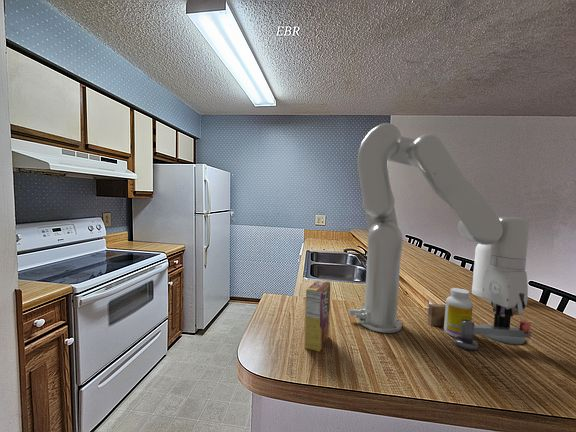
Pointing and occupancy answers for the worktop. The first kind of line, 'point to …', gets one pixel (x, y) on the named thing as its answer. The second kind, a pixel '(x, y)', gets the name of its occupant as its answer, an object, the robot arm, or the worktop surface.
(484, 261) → the bottle
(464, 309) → the supplement bottle
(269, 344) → the worktop surface
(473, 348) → the lever
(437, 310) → the wooden plank block
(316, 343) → the candy box
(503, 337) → the coaster
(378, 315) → the robot arm
